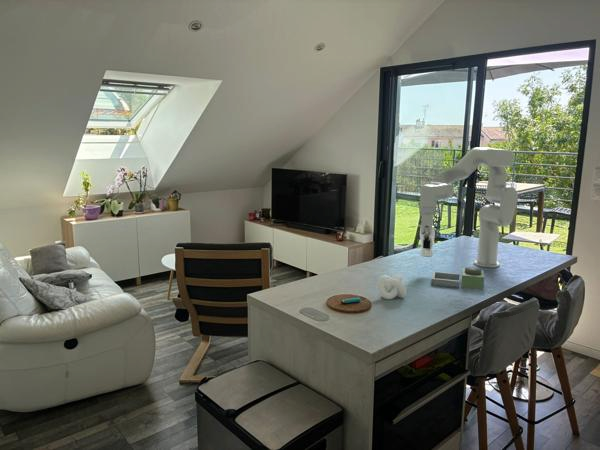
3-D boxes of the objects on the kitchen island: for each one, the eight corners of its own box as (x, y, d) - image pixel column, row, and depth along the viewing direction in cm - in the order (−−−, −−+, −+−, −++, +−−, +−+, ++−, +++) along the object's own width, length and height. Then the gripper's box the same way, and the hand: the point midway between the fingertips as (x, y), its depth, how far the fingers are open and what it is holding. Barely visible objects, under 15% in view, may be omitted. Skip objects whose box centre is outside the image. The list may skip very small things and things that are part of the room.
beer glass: (434, 257, 225) (435, 227, 221) (419, 257, 226) (420, 227, 223) (433, 253, 231) (434, 224, 228) (419, 253, 233) (419, 223, 229)
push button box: (432, 277, 224) (433, 262, 222) (481, 282, 217) (483, 266, 216) (431, 285, 213) (432, 269, 211) (483, 290, 206) (484, 273, 204)
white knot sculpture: (412, 297, 197) (414, 277, 196) (396, 304, 189) (397, 283, 187) (390, 290, 205) (391, 271, 203) (374, 297, 197) (374, 277, 195)
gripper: (421, 206, 233) (420, 241, 237) (418, 213, 217) (417, 250, 221) (437, 207, 231) (435, 242, 234) (435, 213, 215) (434, 251, 218)
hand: (426, 246), depth 228 cm, fingers closed on beer glass, 6 cm apart
